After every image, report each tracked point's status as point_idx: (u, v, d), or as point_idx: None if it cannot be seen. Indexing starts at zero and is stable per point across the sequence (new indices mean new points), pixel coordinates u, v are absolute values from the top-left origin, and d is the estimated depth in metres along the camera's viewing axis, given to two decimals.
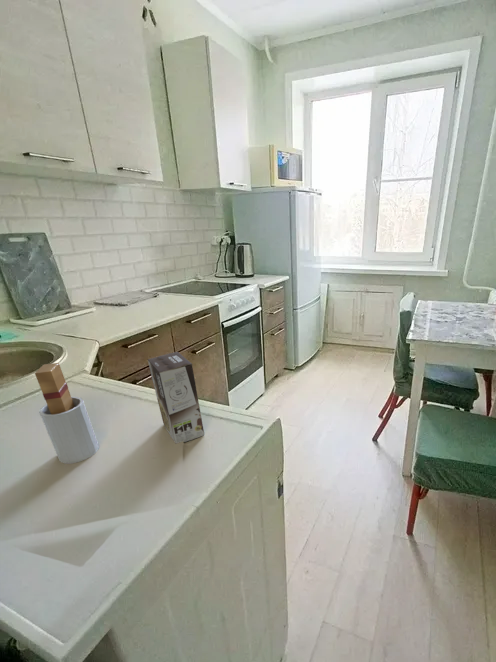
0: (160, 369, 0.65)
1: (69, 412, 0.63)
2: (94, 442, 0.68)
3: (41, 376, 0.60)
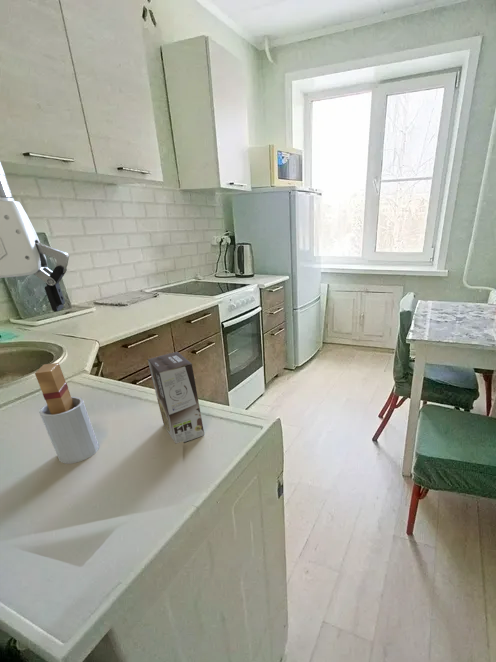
0: (160, 369, 0.65)
1: (69, 412, 0.63)
2: (94, 442, 0.68)
3: (41, 376, 0.60)
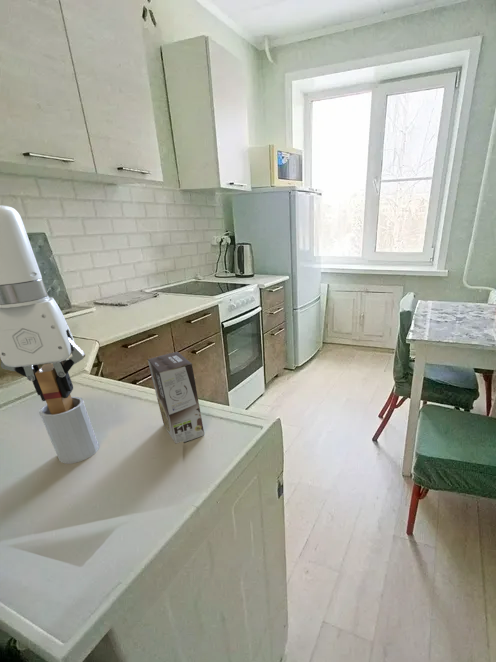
0: (160, 369, 0.65)
1: (69, 412, 0.63)
2: (94, 442, 0.68)
3: (41, 376, 0.60)
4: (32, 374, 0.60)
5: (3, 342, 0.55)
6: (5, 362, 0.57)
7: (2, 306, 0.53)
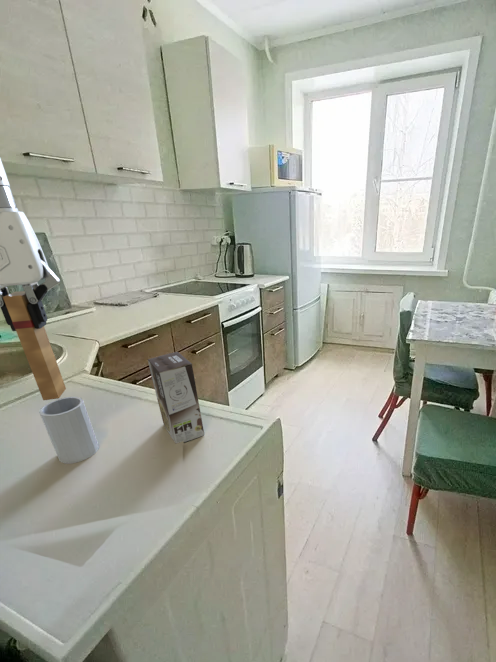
0: (160, 369, 0.65)
1: (69, 412, 0.63)
2: (94, 442, 0.68)
3: (10, 301, 0.54)
4: (0, 298, 0.54)
5: None
6: None
7: None
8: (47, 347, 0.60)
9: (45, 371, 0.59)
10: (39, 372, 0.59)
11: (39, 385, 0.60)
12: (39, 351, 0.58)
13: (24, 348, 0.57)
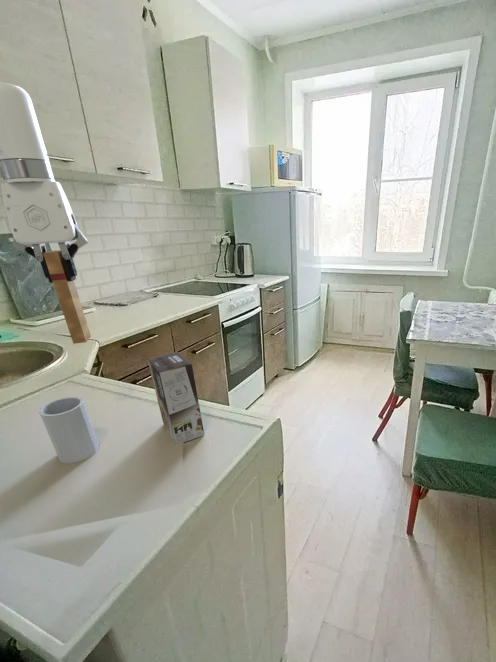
0: (160, 369, 0.65)
1: (69, 412, 0.63)
2: (94, 442, 0.68)
3: (48, 256, 0.66)
4: (40, 254, 0.66)
5: (15, 217, 0.62)
6: (17, 238, 0.64)
7: (15, 180, 0.59)
8: (77, 299, 0.73)
9: (75, 317, 0.72)
10: (70, 318, 0.72)
11: (70, 330, 0.73)
12: (71, 300, 0.70)
13: (59, 297, 0.70)
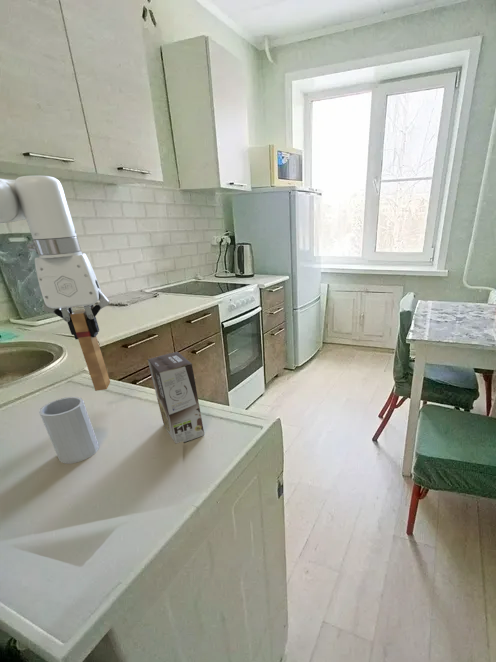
0: (160, 369, 0.65)
1: (69, 412, 0.63)
2: (94, 442, 0.68)
3: (75, 317, 0.74)
4: (68, 316, 0.74)
5: (47, 287, 0.70)
6: (47, 304, 0.71)
7: (47, 256, 0.67)
8: (98, 351, 0.81)
9: (97, 368, 0.80)
10: (93, 369, 0.80)
11: (93, 379, 0.80)
12: (94, 353, 0.78)
13: (83, 351, 0.77)
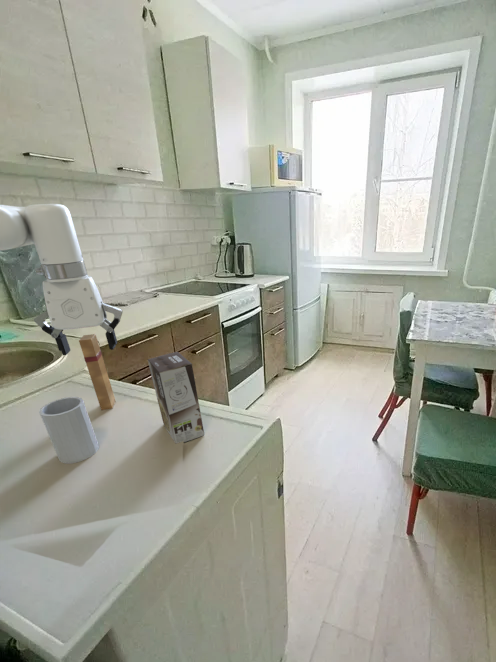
0: (160, 369, 0.65)
1: (69, 412, 0.63)
2: (94, 442, 0.68)
3: (83, 343, 0.77)
4: (55, 332, 0.75)
5: (54, 309, 0.72)
6: (54, 325, 0.73)
7: (55, 281, 0.69)
8: (105, 374, 0.83)
9: (104, 391, 0.82)
10: (100, 392, 0.82)
11: (99, 401, 0.83)
12: (101, 377, 0.81)
13: (91, 375, 0.80)
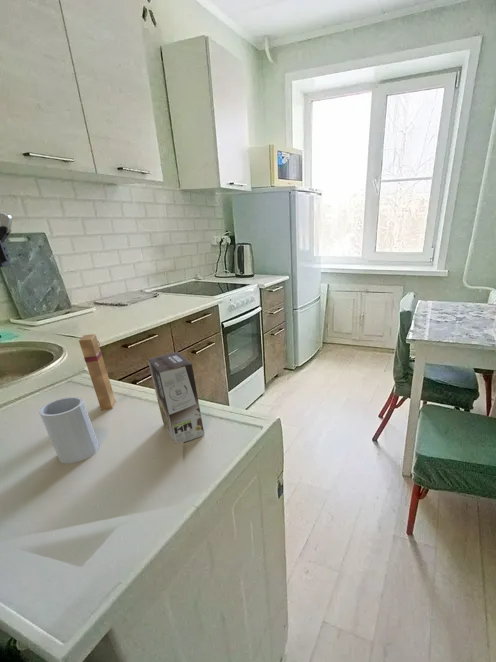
0: (160, 369, 0.65)
1: (69, 412, 0.63)
2: (94, 442, 0.68)
3: (83, 343, 0.77)
4: None
5: None
6: None
7: None
8: (105, 374, 0.83)
9: (104, 391, 0.82)
10: (100, 392, 0.82)
11: (99, 401, 0.83)
12: (101, 377, 0.81)
13: (91, 375, 0.80)
